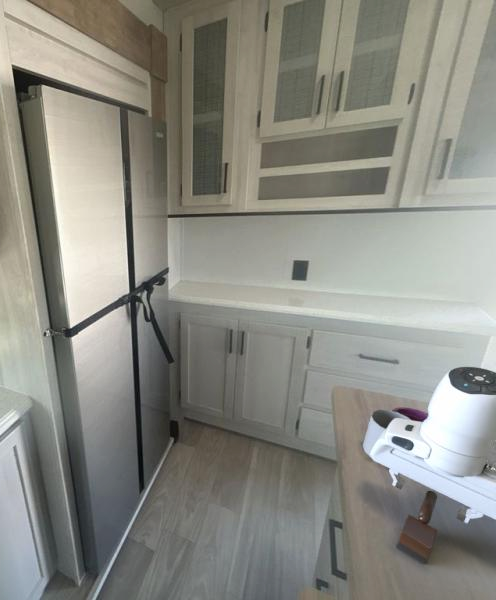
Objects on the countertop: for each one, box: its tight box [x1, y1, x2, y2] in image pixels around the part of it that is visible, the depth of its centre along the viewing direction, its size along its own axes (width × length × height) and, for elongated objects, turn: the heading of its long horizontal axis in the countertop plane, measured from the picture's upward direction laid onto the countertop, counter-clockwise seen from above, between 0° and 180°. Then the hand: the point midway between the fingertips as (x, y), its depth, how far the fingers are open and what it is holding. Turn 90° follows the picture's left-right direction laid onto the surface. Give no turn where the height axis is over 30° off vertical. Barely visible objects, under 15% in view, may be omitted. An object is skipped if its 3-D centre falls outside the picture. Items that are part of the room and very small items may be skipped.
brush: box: [395, 490, 438, 565], centre depth 64 cm, size 14×4×6 cm, turn 128°
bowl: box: [391, 406, 428, 422], centre depth 86 cm, size 10×10×4 cm
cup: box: [362, 409, 411, 459], centre depth 80 cm, size 8×8×10 cm
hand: (428, 501), depth 66 cm, fingers open, 8 cm apart
